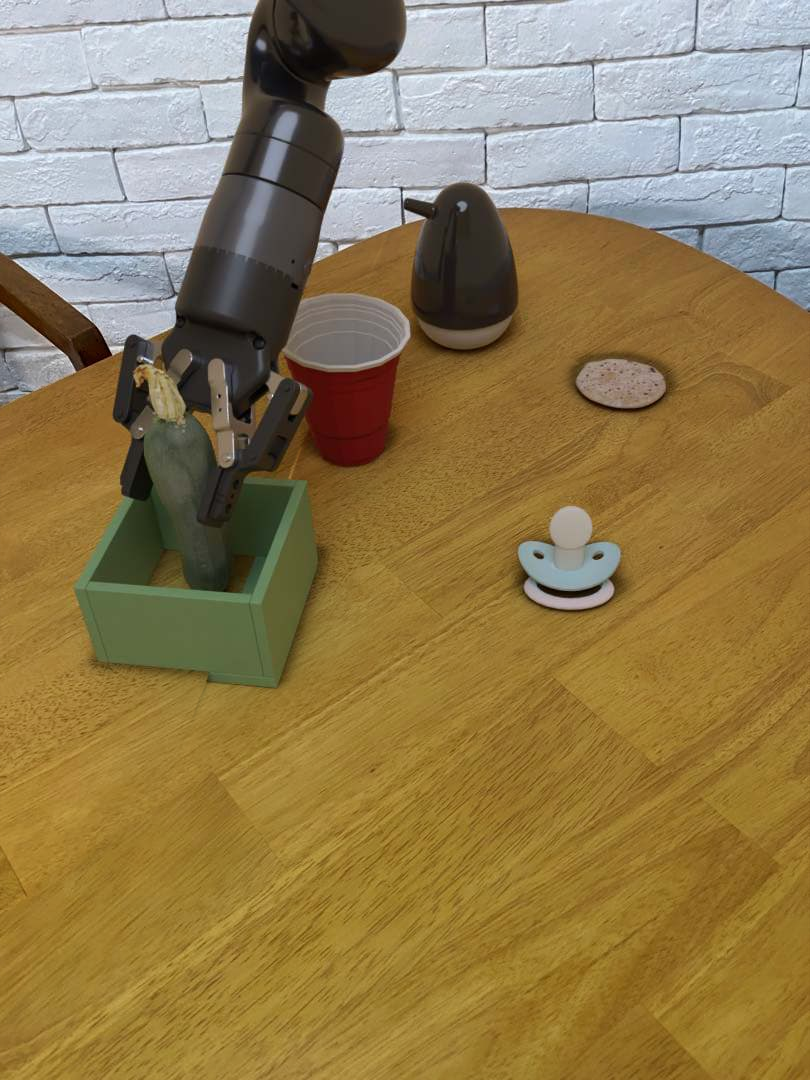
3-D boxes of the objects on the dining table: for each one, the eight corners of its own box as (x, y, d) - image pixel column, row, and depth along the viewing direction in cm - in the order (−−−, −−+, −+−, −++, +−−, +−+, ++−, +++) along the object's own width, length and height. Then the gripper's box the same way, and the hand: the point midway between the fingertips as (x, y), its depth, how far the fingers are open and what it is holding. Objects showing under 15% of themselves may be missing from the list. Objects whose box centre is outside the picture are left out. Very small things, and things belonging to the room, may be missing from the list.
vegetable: (255, 591, 82) (209, 354, 69) (224, 630, 79) (170, 392, 66) (203, 575, 83) (149, 341, 70) (171, 614, 81) (108, 377, 67)
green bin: (101, 671, 78) (72, 588, 73) (160, 551, 87) (139, 469, 82) (277, 688, 76) (261, 603, 71) (319, 563, 85) (307, 480, 80)
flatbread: (682, 385, 101) (683, 375, 100) (632, 423, 97) (633, 413, 96) (607, 354, 105) (607, 345, 104) (556, 390, 101) (557, 380, 100)
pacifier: (621, 616, 80) (616, 557, 84) (628, 552, 75) (623, 494, 80) (517, 614, 80) (517, 555, 85) (518, 550, 76) (519, 492, 80)
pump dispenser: (405, 314, 113) (396, 166, 103) (508, 304, 113) (509, 156, 103) (416, 369, 105) (407, 215, 95) (526, 357, 106) (529, 203, 96)
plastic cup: (372, 502, 91) (361, 375, 83) (265, 464, 95) (244, 340, 87) (440, 432, 97) (436, 308, 89) (337, 399, 102) (324, 279, 94)
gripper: (130, 223, 73) (49, 472, 73) (317, 265, 67) (229, 537, 67) (195, 262, 79) (121, 491, 80) (369, 304, 74) (289, 550, 74)
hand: (171, 510), depth 73 cm, fingers open, 5 cm apart
